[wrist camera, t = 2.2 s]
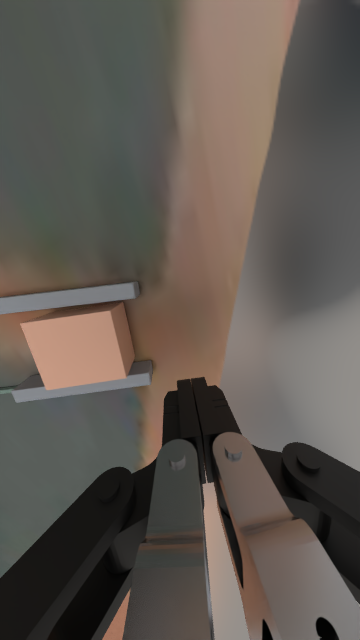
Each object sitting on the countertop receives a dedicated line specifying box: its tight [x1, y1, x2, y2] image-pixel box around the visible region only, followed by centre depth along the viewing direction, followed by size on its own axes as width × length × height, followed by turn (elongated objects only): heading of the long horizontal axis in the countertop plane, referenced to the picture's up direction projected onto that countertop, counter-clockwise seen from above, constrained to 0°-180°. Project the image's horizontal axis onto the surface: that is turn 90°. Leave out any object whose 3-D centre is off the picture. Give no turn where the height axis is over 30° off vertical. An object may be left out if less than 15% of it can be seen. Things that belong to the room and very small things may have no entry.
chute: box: [0, 281, 153, 403], centre depth 20 cm, size 11×15×3 cm
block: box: [20, 302, 135, 390], centre depth 19 cm, size 7×8×5 cm
